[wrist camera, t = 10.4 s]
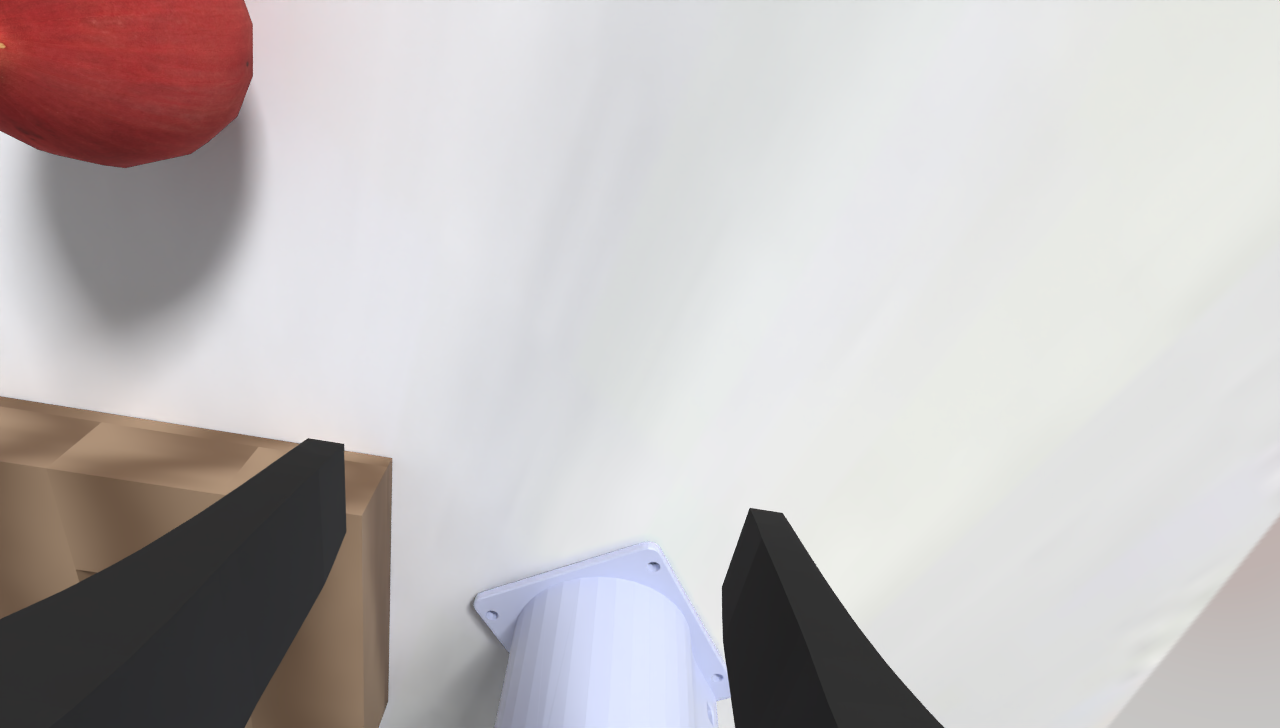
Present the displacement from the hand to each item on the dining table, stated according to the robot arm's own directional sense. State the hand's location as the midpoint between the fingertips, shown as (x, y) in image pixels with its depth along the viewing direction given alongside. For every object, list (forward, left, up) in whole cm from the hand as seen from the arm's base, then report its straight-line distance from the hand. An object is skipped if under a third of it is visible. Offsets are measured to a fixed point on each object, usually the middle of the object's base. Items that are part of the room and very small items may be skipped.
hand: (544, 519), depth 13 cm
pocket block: (-5, +19, -10) cm, 22 cm away
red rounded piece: (+11, +6, -11) cm, 16 cm away
